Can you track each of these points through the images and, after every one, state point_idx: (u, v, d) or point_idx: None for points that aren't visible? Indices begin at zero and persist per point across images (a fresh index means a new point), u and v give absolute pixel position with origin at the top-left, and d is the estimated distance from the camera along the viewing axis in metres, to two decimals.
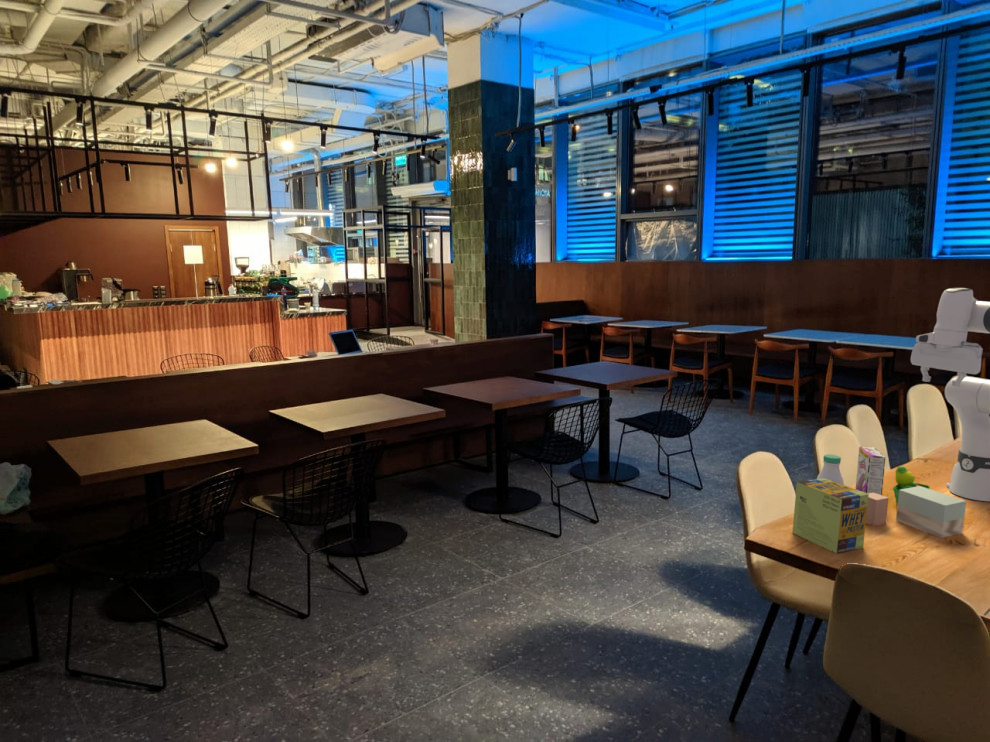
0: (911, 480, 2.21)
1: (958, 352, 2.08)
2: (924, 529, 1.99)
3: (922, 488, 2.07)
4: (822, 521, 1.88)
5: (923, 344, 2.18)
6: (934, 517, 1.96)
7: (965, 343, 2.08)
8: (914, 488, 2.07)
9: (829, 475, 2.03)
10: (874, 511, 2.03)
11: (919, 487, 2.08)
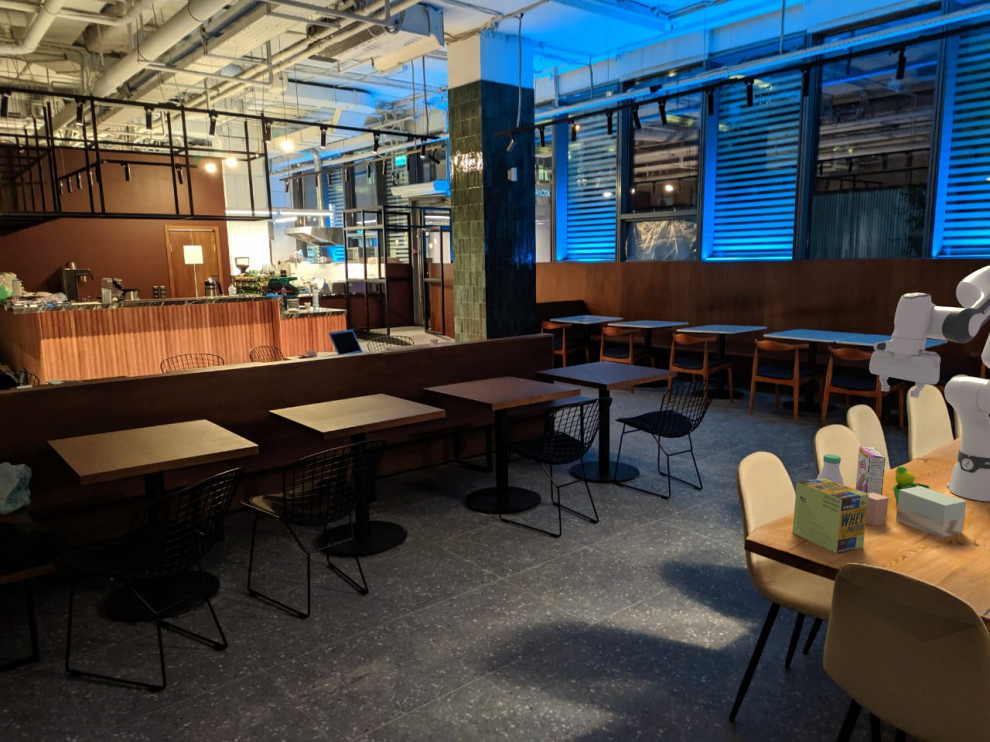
0: (911, 480, 2.21)
1: (916, 360, 1.98)
2: (924, 529, 1.99)
3: (922, 488, 2.07)
4: (822, 521, 1.88)
5: (881, 352, 2.07)
6: (934, 517, 1.96)
7: (923, 351, 1.98)
8: (914, 488, 2.07)
9: (829, 475, 2.03)
10: (874, 511, 2.03)
11: (919, 487, 2.08)
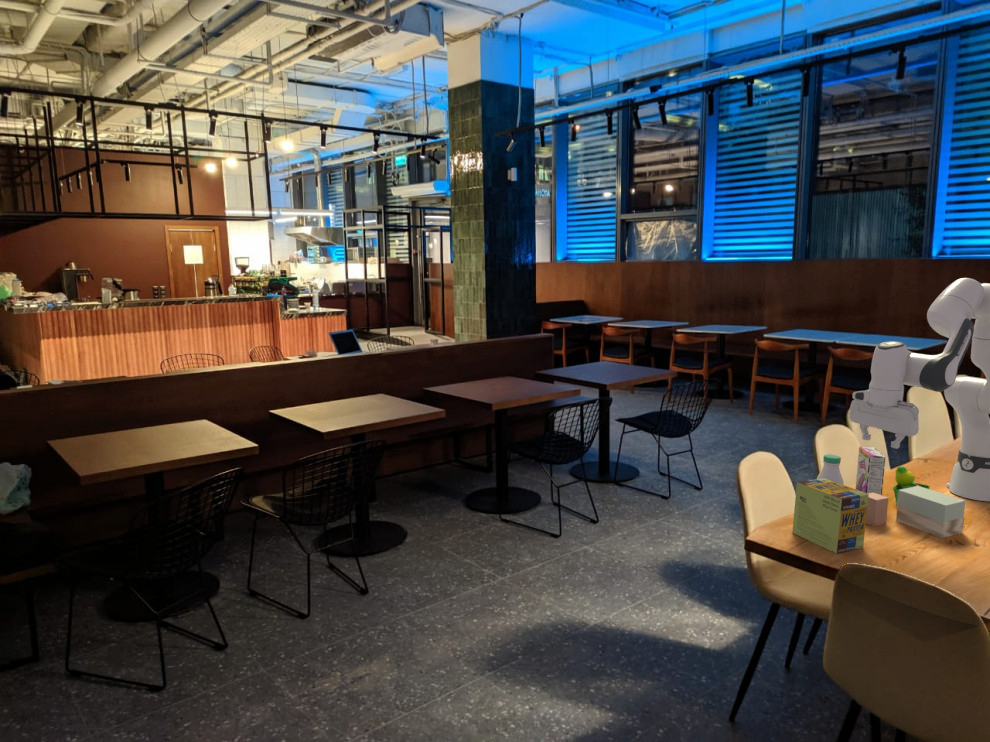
0: (911, 480, 2.21)
1: (895, 412, 1.96)
2: (925, 529, 1.99)
3: (920, 488, 2.07)
4: (822, 521, 1.88)
5: (860, 402, 2.05)
6: (934, 517, 1.96)
7: (901, 403, 1.95)
8: (913, 488, 2.07)
9: (829, 475, 2.03)
10: (874, 511, 2.03)
11: (917, 487, 2.08)
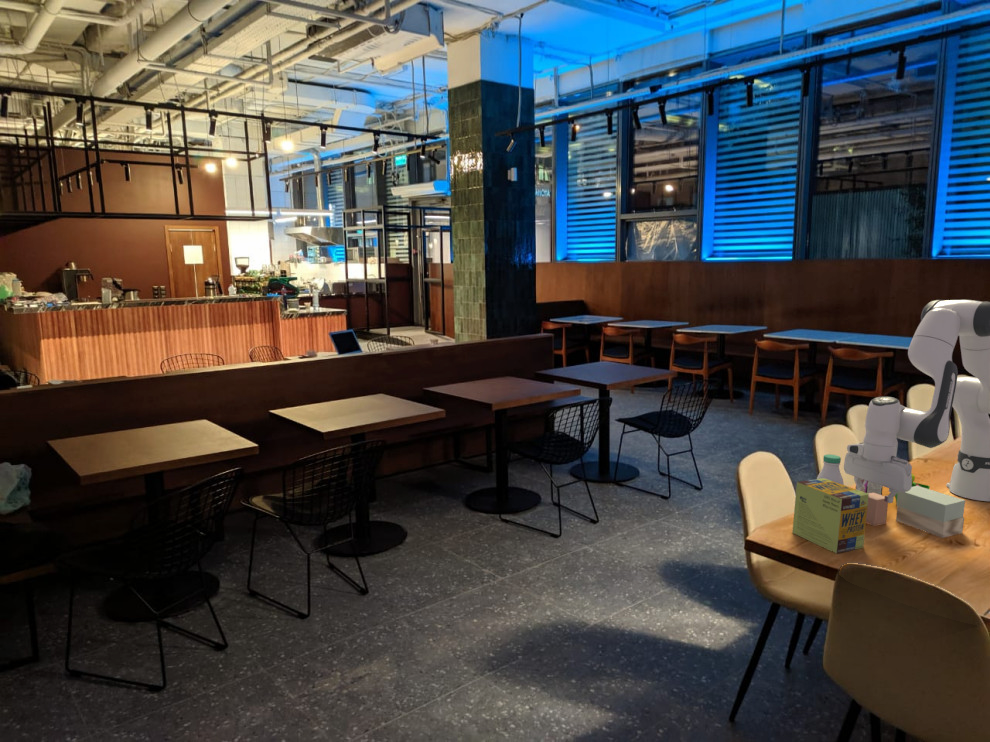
0: None
1: (888, 467, 1.98)
2: (925, 529, 1.99)
3: (920, 488, 2.08)
4: (822, 521, 1.88)
5: (854, 455, 2.08)
6: (934, 517, 1.97)
7: (894, 458, 1.98)
8: (912, 488, 2.07)
9: (829, 475, 2.03)
10: (874, 511, 2.03)
11: (917, 487, 2.08)
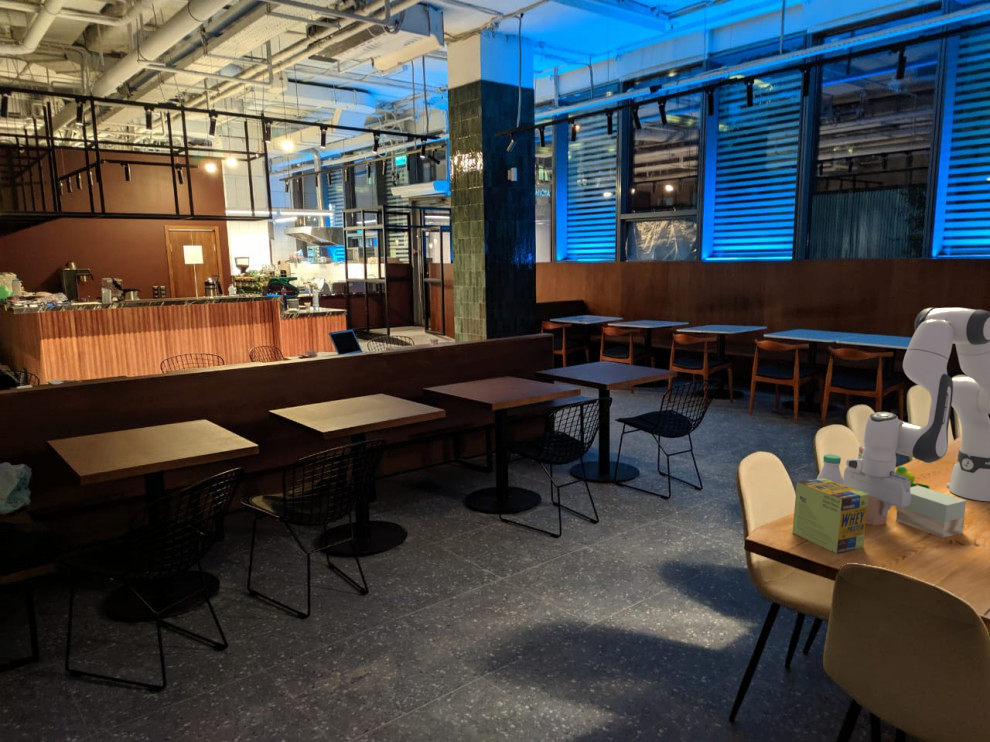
0: (911, 480, 2.21)
1: (887, 483, 1.99)
2: (925, 529, 1.99)
3: (921, 488, 2.07)
4: (822, 521, 1.88)
5: (853, 469, 2.09)
6: (935, 517, 1.96)
7: (893, 474, 1.99)
8: (913, 488, 2.07)
9: (829, 475, 2.03)
10: (874, 511, 2.03)
11: (918, 487, 2.08)
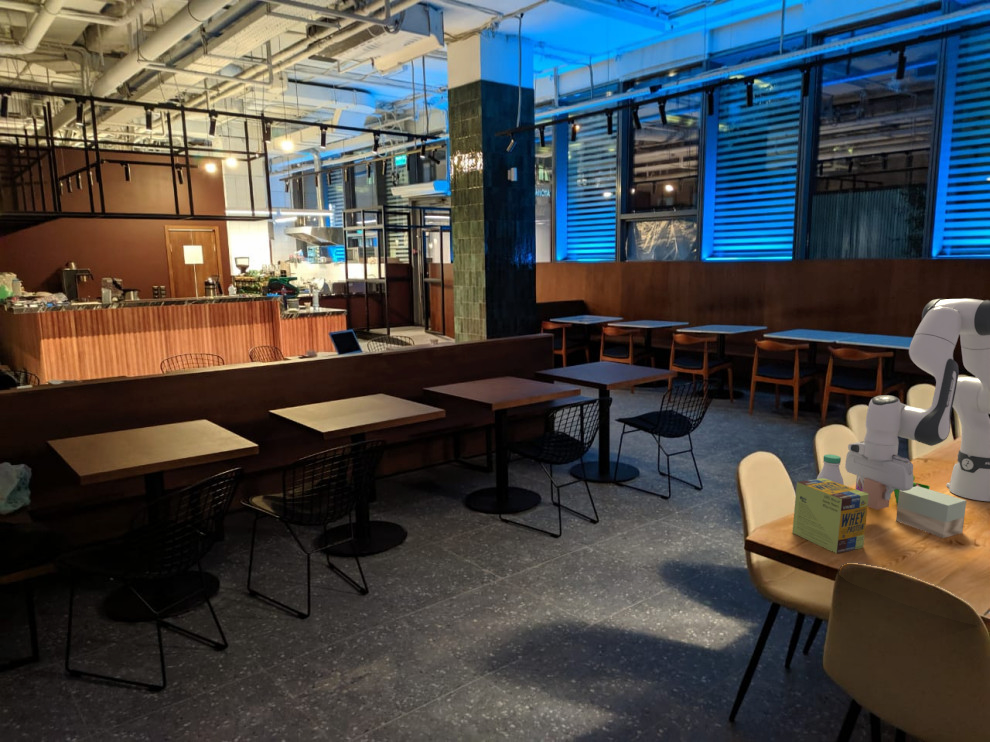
0: None
1: (890, 466, 1.98)
2: (925, 529, 1.99)
3: (920, 488, 2.07)
4: (822, 521, 1.88)
5: (855, 454, 2.08)
6: (936, 517, 1.96)
7: (896, 457, 1.98)
8: (913, 488, 2.07)
9: (829, 475, 2.03)
10: (877, 495, 2.02)
11: (917, 487, 2.08)
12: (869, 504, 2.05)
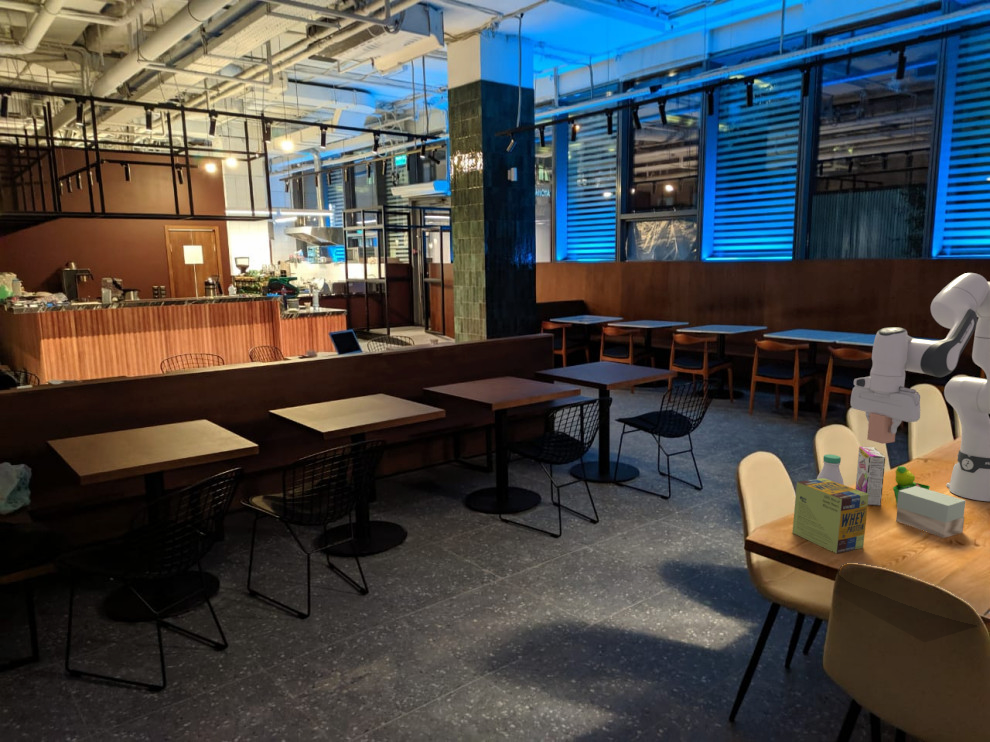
0: (911, 480, 2.21)
1: (896, 398, 1.95)
2: (926, 529, 1.99)
3: (919, 488, 2.07)
4: (822, 521, 1.88)
5: (861, 388, 2.04)
6: (936, 518, 1.96)
7: (902, 389, 1.94)
8: (912, 488, 2.07)
9: (829, 475, 2.03)
10: (882, 428, 1.99)
11: (916, 487, 2.08)
12: (874, 439, 2.01)
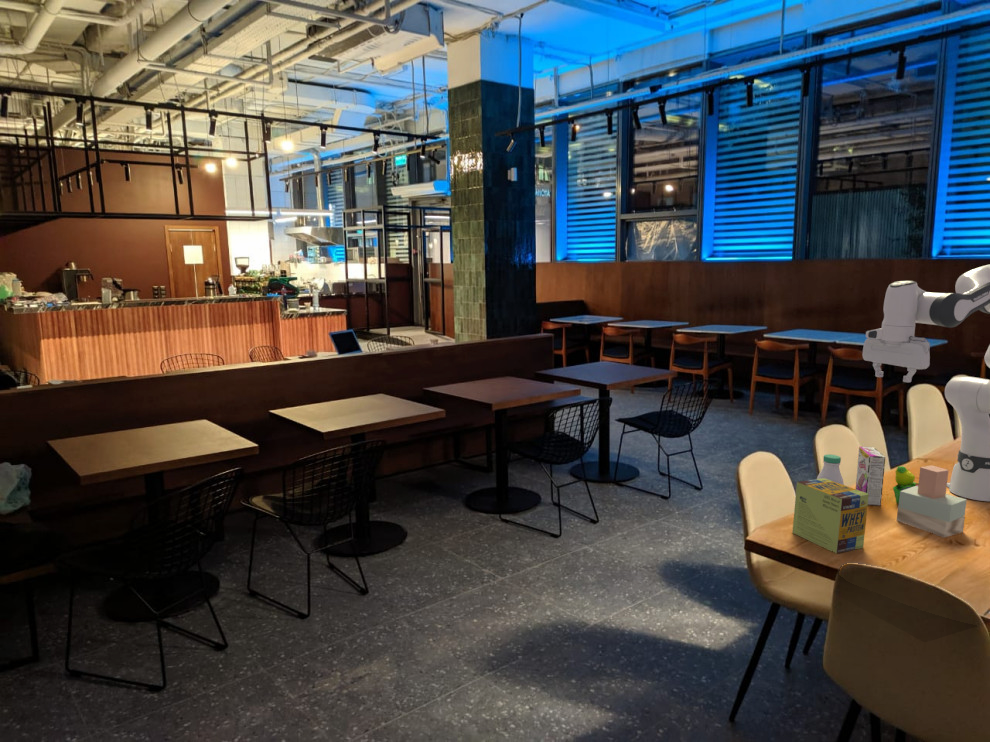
0: (911, 480, 2.21)
1: (907, 347, 2.05)
2: (926, 529, 2.00)
3: None
4: (822, 521, 1.88)
5: (873, 340, 2.14)
6: (939, 517, 1.96)
7: (913, 338, 2.05)
8: (912, 488, 2.07)
9: (829, 475, 2.03)
10: (934, 484, 1.98)
11: (916, 487, 2.08)
12: (925, 493, 2.01)
